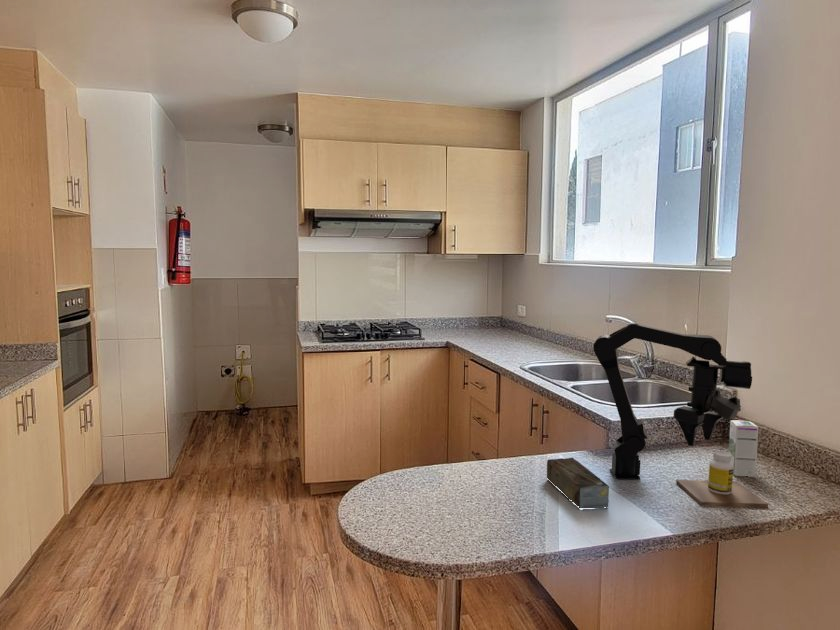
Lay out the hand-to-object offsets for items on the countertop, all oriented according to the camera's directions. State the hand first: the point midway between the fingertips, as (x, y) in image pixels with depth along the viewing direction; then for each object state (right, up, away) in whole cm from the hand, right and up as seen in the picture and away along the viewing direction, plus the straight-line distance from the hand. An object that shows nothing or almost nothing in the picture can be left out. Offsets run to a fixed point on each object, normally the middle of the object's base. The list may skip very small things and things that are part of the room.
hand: (699, 442), depth 148 cm
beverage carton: (-34, -12, -6) cm, 36 cm away
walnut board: (+3, -12, -5) cm, 13 cm away
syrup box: (+17, -11, +11) cm, 23 cm away
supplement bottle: (+3, -11, -5) cm, 13 cm away
